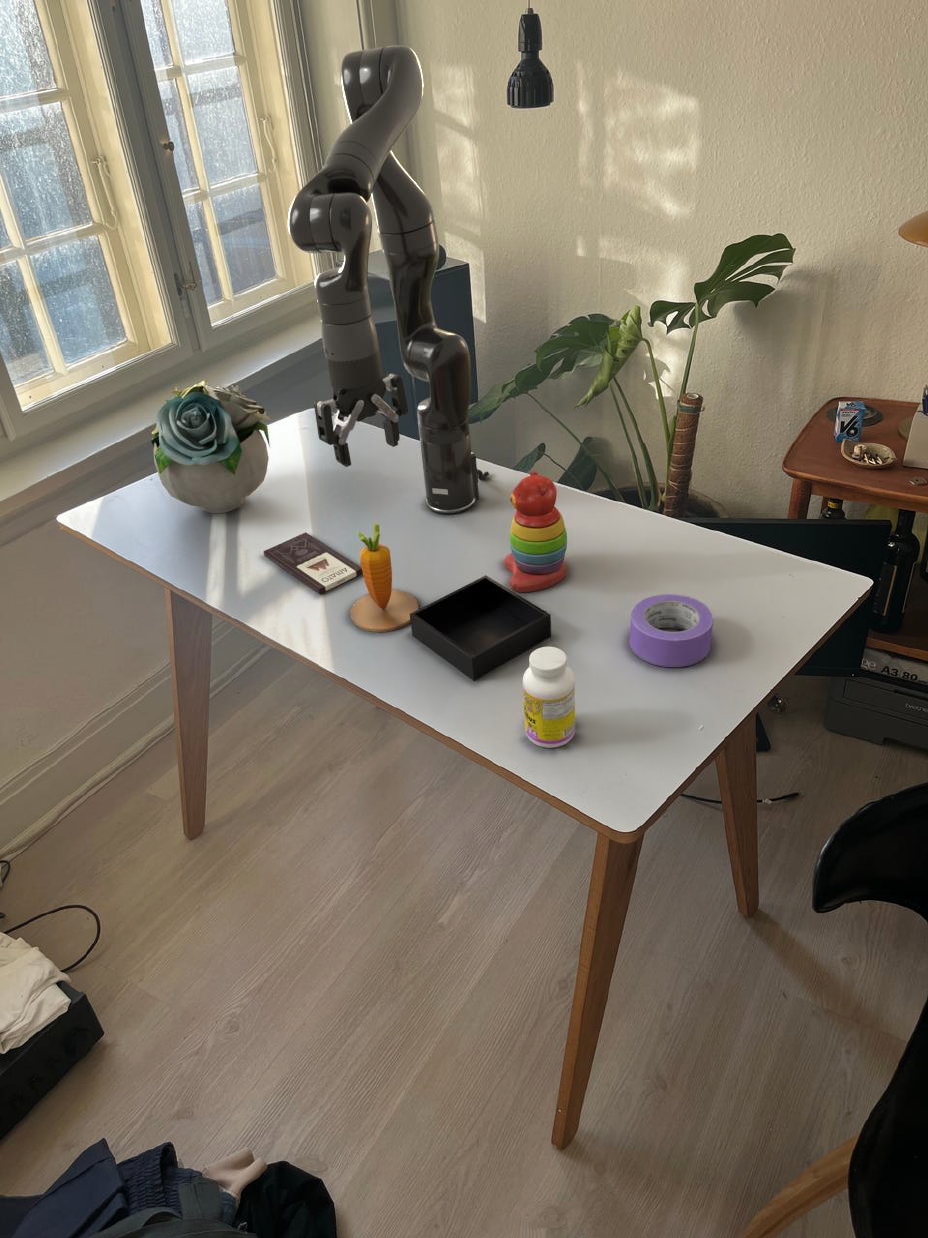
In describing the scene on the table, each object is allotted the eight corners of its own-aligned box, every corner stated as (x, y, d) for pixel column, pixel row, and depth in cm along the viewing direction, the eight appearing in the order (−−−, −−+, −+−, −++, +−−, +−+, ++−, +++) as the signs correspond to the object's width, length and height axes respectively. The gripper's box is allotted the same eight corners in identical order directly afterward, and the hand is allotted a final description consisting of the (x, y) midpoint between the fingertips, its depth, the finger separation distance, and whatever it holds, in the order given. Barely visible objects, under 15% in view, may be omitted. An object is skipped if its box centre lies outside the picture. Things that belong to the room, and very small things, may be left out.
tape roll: (646, 612, 142) (648, 585, 139) (721, 631, 137) (724, 604, 134) (617, 655, 134) (618, 627, 131) (694, 677, 129) (697, 648, 126)
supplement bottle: (522, 719, 125) (518, 644, 117) (570, 713, 125) (569, 638, 117) (529, 753, 119) (525, 677, 112) (579, 747, 119) (579, 671, 112)
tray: (487, 596, 149) (485, 574, 147) (551, 636, 139) (550, 614, 137) (412, 635, 142) (409, 613, 139) (473, 681, 132) (471, 658, 129)
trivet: (393, 584, 154) (392, 582, 154) (432, 612, 147) (432, 608, 146) (337, 611, 149) (337, 608, 148) (375, 641, 142) (375, 638, 141)
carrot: (375, 621, 145) (361, 539, 136) (363, 606, 148) (349, 525, 140) (403, 611, 146) (392, 530, 138) (391, 596, 150) (379, 516, 141)
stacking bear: (503, 559, 158) (497, 466, 147) (560, 552, 158) (559, 459, 148) (511, 594, 149) (506, 497, 139) (573, 587, 149) (572, 490, 139)
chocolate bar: (305, 532, 169) (362, 568, 157) (306, 536, 169) (362, 572, 158) (263, 551, 164) (318, 589, 152) (264, 555, 165) (319, 594, 153)
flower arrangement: (311, 488, 185) (289, 372, 171) (223, 547, 168) (190, 423, 154) (223, 466, 197) (195, 355, 182) (133, 519, 180) (94, 401, 166)
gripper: (322, 370, 121) (343, 480, 131) (408, 339, 128) (422, 445, 137) (293, 357, 126) (315, 464, 135) (377, 328, 133) (393, 431, 142)
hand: (369, 454), depth 136 cm, fingers open, 8 cm apart
